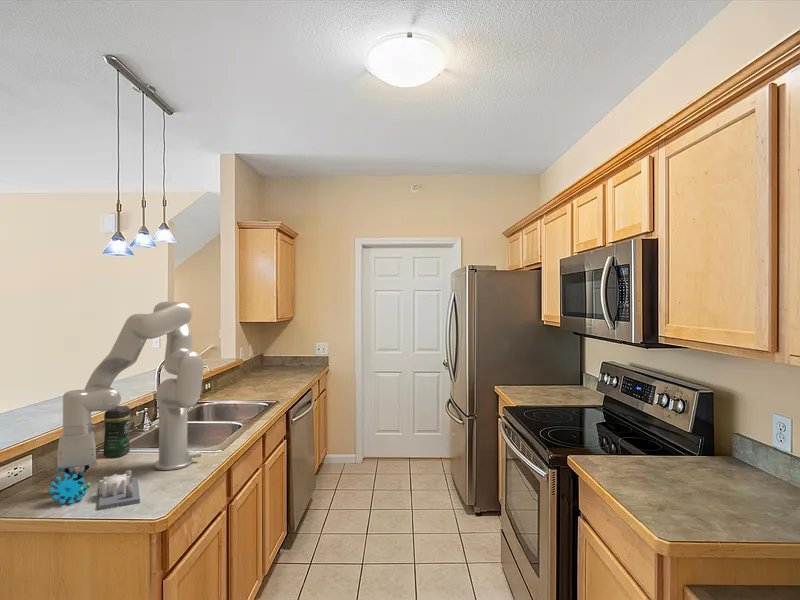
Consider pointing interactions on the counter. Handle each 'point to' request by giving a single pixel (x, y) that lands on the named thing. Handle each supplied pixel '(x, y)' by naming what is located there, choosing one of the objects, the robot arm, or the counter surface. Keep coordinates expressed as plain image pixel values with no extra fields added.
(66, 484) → the gear
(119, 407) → the coffee jar
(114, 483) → the carrier plate
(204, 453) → the counter surface
